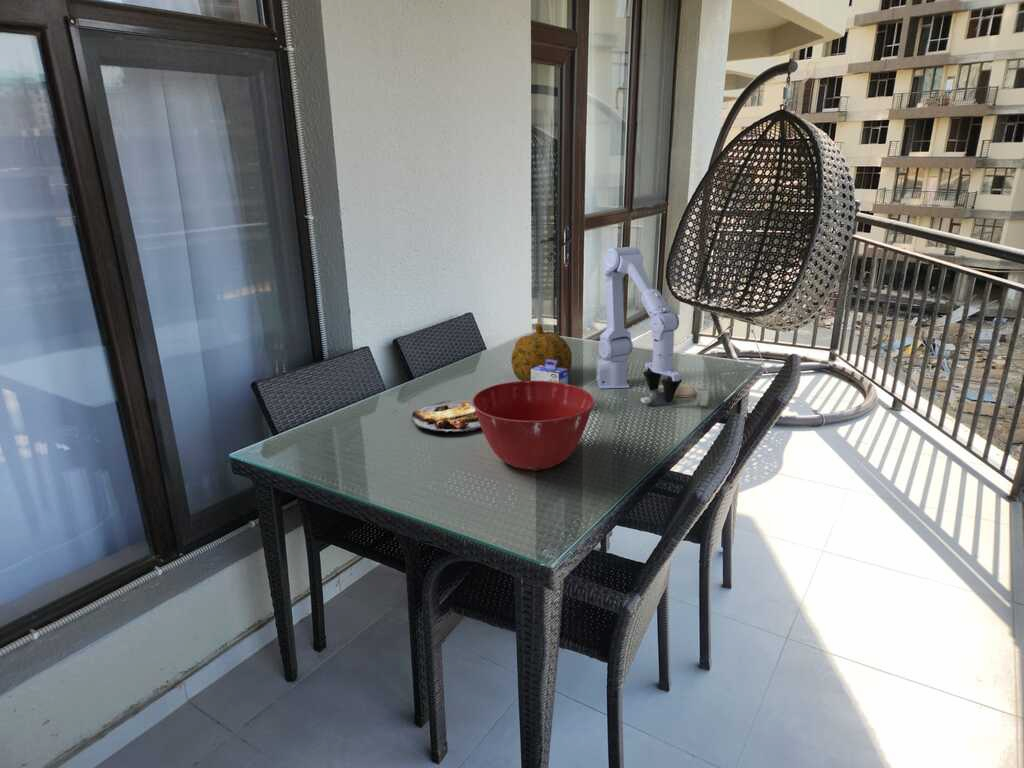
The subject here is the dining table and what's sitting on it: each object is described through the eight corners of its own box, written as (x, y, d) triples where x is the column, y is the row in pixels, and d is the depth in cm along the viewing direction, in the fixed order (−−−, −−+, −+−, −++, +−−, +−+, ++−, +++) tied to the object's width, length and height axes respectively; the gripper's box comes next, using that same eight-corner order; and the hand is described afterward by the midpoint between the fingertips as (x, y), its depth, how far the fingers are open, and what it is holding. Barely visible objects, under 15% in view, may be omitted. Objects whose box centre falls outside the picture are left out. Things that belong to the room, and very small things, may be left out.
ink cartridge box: (569, 408, 187) (569, 361, 183) (559, 414, 183) (558, 365, 179) (540, 403, 193) (539, 356, 188) (530, 408, 189) (529, 360, 184)
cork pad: (663, 398, 194) (664, 395, 193) (655, 388, 203) (655, 385, 203) (696, 397, 194) (696, 394, 194) (686, 387, 203) (687, 384, 203)
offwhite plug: (696, 398, 193) (696, 387, 192) (706, 399, 192) (707, 387, 191) (697, 408, 185) (698, 396, 183) (708, 409, 184) (709, 397, 183)
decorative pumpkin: (587, 375, 215) (582, 317, 208) (546, 396, 201) (540, 335, 195) (542, 367, 229) (536, 313, 222) (501, 386, 215) (493, 329, 208)
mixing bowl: (613, 450, 158) (614, 390, 153) (554, 496, 136) (553, 428, 131) (518, 428, 173) (516, 374, 169) (450, 467, 151) (447, 405, 146)
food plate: (432, 443, 165) (431, 430, 164) (399, 418, 184) (398, 406, 183) (515, 425, 177) (515, 413, 176) (476, 403, 196) (476, 392, 195)
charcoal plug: (669, 399, 193) (669, 386, 191) (675, 402, 190) (676, 389, 189) (639, 404, 189) (639, 391, 188) (645, 408, 186) (646, 395, 185)
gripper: (690, 357, 180) (687, 403, 184) (660, 346, 193) (658, 389, 197) (668, 360, 178) (666, 407, 182) (639, 349, 191) (638, 392, 195)
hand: (661, 398), depth 189 cm, fingers open, 7 cm apart
